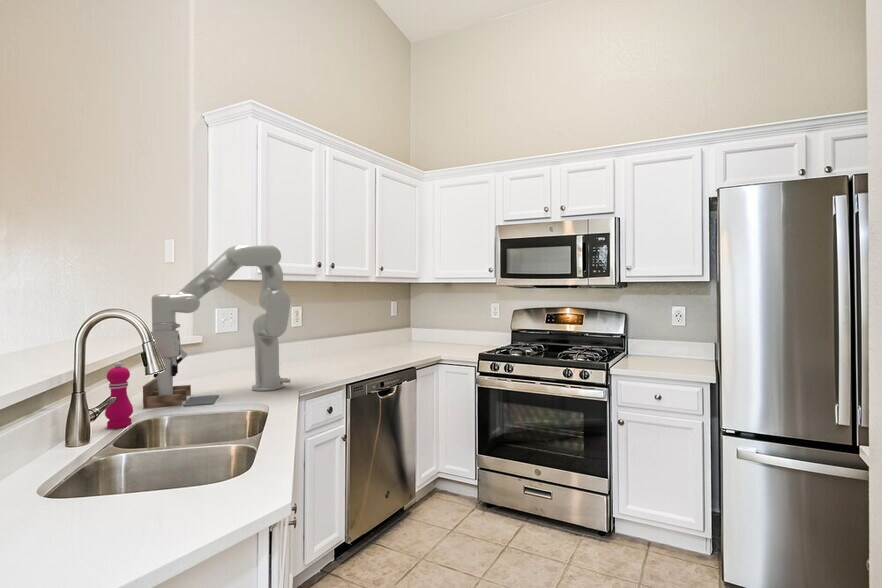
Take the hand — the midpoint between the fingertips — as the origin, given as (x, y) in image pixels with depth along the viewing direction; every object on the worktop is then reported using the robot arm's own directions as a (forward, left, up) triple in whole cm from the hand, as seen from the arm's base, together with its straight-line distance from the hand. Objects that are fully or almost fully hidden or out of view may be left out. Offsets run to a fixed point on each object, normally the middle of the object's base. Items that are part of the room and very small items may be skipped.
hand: (165, 375), depth 173 cm
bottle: (0, 0, -11) cm, 11 cm away
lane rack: (0, -4, -10) cm, 11 cm away
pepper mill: (+7, +27, -11) cm, 30 cm away
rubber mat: (-12, 0, -10) cm, 16 cm away
